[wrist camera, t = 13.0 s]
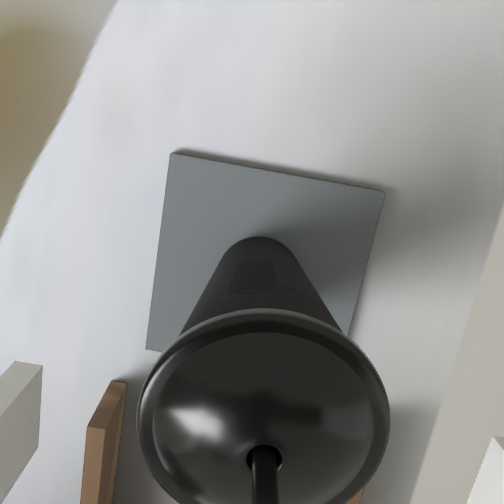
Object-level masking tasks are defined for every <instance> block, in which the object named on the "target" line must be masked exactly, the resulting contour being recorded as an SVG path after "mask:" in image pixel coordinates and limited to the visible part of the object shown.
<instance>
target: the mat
mask: <svg viewBox="0 0 504 504" xmlns="http://www.w3.org/2000/svg"><path fill="white" fill-rule="evenodd" d="M384 197H385V192H383V191H379V190H374V189H368V188H363V187H357V186H352V185H346V184H341V183H335V182H330V181H324V180H319V179H314V178H308V177H303V176H297V175H292V174H286V173H281V172H275V171H270V170H264V169H259V168H253V167H248V166H243V165H237V164H232V163H226V162H221V161H215V160H210V159H204V158H199V157H193V156H188V155H182V154H177V153H170V158H169V166H168V174H167V182H166V190H165V198H164V206H163V213H162V221H161V229H160V237H159V245H158V253H157V261H156V269H155V277H154V284H153V292H152V300H151V308H150V316H149V324H148V332H147V340H146V348H145V349H146V350H153V351H159V352H163V351H164V350H165V349H166V348H167V347H168V346H169V345H170V344H171V343H172V342H173V341H174V340H175V339H177V338H178V336H179V335H180V333H181V331H182V329H183V327H184V325H185V324H186V322H187V320H188V318H189V316H190V315H191V313H192V311H193V309H194V307H195V305H196V304H197V302H198V300H199V298H200V296H201V295H202V293H203V291H204V289H205V287H206V285H207V284H208V282H209V280H210V278H211V276H212V275H213V273H214V271H215V269H216V267H217V266H218V264H219V262H220V260H221V258H222V256H223V255H224V254H225V252H226V251H227V250H228V249H229V248H230V247H231V246H232V245H234V244H235V243H237V242H239V241H240V240H243V239H246V238H250V237H268V238H272V239H274V240H277V241H279V242H281V243H282V244H284V245H285V246H286V247H287V248H288V249H289V250H290V251H291V252H292V253H293V255H294V256H295V258H296V259H297V261H298V262H299V264H300V266H301V267H302V269H303V270H304V272H305V274H306V275H307V277H308V278H309V280H310V281H311V283H312V285H313V286H314V288H315V289H316V291H317V293H318V294H319V296H320V297H321V299H322V300H323V302H324V304H325V305H326V307H327V308H328V310H329V311H330V313H331V315H332V316H333V318H334V319H335V321H336V323H337V324H338V326H339V327H340V329H341V330H342V332H343V333H344V334H345V335H348V332H349V328H350V324H351V320H352V317H353V313H354V309H355V305H356V302H357V298H358V294H359V290H360V287H361V283H362V279H363V275H364V272H365V268H366V264H367V260H368V257H369V253H370V249H371V245H372V242H373V238H374V234H375V230H376V227H377V223H378V219H379V215H380V212H381V208H382V204H383V200H384Z"/></svg>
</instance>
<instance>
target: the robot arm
mask: <svg viewBox="0 0 504 504" xmlns="http://www.w3.org/2000/svg"><path fill="white" fill-rule="evenodd" d="M42 370H43V366H42V365H36V364H29V363H23V362H17V361H15V362H14V363H13V364H12V365H11V366H10V367H9V368H8V369H7V370H6V371H5V372H4V373H3V374H2V375H1V376H0V504H2V502H3V501H4V499H5V498H6V496H7V495H8V493H9V491H10V490H11V488H12V487H13V485H14V484H15V482H16V481H17V479H18V477H19V476H20V474H21V473H22V471H23V470H24V468H25V467H26V465H27V463H28V462H29V460H30V459H31V457H32V456H33V454H34V453H35V451H36V449H37V448H38V441H39V423H40V405H41V388H42ZM466 504H504V438H502V437H495V436H493V437H492V440H491V442H490V445H489V447H488V450H487V452H486V455H485V457H484V460H483V462H482V465H481V467H480V470H479V472H478V475H477V478H476V480H475V483H474V485H473V488H472V490H471V493H470V495H469V498H468V500H467V503H466Z"/></svg>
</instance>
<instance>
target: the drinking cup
mask: <svg viewBox="0 0 504 504" xmlns="http://www.w3.org/2000/svg"><path fill="white" fill-rule="evenodd" d="M136 430H137V437H138V442H139V446H140V450H141V453H142V455H143V458H144V460H145V463H146V464H147V466H148V469H149V470H150V472H151V473H152V475H153V477H154V478H155V479H156V481H157V482H158V483H159V485H160V486H161V487H162V488H163V489H164V490H165V491H166V492H167V493H168V494H169V495H170V496H171V497H172V498H173V499H175V500H176V501H177V502H178V503H180V504H346V503H347V502H348V501H349V500H351V499H352V498H353V497H354V496H355V495H356V494H357V493H358V492H359V491H361V490H362V488H363V487H364V486H365V485H366V484H367V483H368V481H369V480H370V479H371V477H372V476H373V474H374V473H375V471H376V470H377V468H378V466H379V464H380V462H381V460H382V457H383V455H384V452H385V449H386V446H387V442H388V437H389V431H390V409H389V403H388V398H387V395H386V391H385V388H384V385H383V383H382V381H381V379H380V376H379V374H378V372H377V371H376V369H375V367H374V365H373V364H372V362H371V361H370V359H369V358H368V357H367V355H366V354H365V353H364V352H363V350H362V349H361V348H360V347H359V346H358V345H357V344H356V343H355V342H354V341H352V340H351V339H350V338H349V337H348V336H347V335H345V334H344V333H343V332H342V330H341V329H340V327H339V326H338V324H337V323H336V321H335V319H334V318H333V316H332V315H331V313H330V311H329V310H328V308H327V307H326V305H325V304H324V302H323V300H322V299H321V297H320V296H319V294H318V293H317V291H316V289H315V288H314V286H313V285H312V283H311V281H310V280H309V278H308V277H307V275H306V274H305V272H304V270H303V269H302V267H301V266H300V264H299V262H298V261H297V259H296V258H295V256H294V255H293V253H292V252H291V251H290V250H289V249H288V248H287V247H286V246H285V245H284V244H282V243H281V242H279V241H277V240H274V239H272V238H268V237H250V238H246V239H243V240H240V241H239V242H237V243H235V244H234V245H232V246H231V247H230V248H229V249H228V250H227V251H226V252H225V254H224V255H223V256H222V258H221V260H220V262H219V264H218V266H217V267H216V269H215V271H214V273H213V275H212V276H211V278H210V280H209V282H208V284H207V285H206V287H205V289H204V291H203V293H202V295H201V296H200V298H199V300H198V302H197V304H196V305H195V307H194V309H193V311H192V313H191V315H190V316H189V318H188V320H187V322H186V324H185V325H184V327H183V329H182V331H181V333H180V335H179V336H178V338H177V339H175V340H174V341H173V342H172V343H171V344H170V345H169V346H168V347H167V348H166V349H165V350H164V351H163V352H162V354H161V355H160V356H159V357H158V359H157V360H156V361H155V363H154V365H153V366H152V368H151V370H150V371H149V373H148V376H147V378H146V380H145V382H144V384H143V387H142V390H141V393H140V396H139V401H138V405H137V413H136Z"/></svg>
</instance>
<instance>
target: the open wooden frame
mask: <svg viewBox="0 0 504 504" xmlns="http://www.w3.org/2000/svg"><path fill="white" fill-rule="evenodd" d="M126 385H127V383H122V382H115V381H111V382H110V384H109V386H108V388H107V390H106V392H105V394H104V395H103V397H102V399H101V401H100V403H99V405H98V407H97V409H96V411H95V412H94V414H93V416H92V418H91V420H90V422H89V424H88V426H87V432H86V443H85V454H84V465H83V477H82V488H81V499H80V504H113V497H114V488H115V480H116V471H117V463H118V454H119V445H120V437H121V428H122V420H123V411H124V402H125V394H126ZM363 489H364V487H363V488H362V490H361V491H359V492H358V493H357V494H356V495H355V496H354V497H353V498H352V499H351V500H349V501H348V502H347V503H346V504H359V502H360V499H361V496H362V493H363Z"/></svg>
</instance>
